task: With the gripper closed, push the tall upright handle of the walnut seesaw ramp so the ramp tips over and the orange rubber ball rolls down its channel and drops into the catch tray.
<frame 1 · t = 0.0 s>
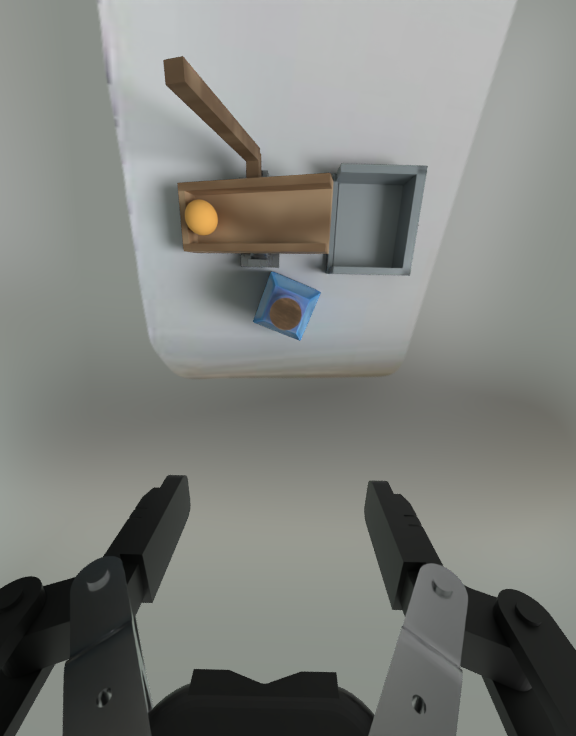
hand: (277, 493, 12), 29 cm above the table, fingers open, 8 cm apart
ball: (201, 218, 31), point 4 cm above the table, tilted 13°, touching lever
fulcrum: (260, 225, 35), on the table
catch tray: (365, 228, 35), on the table
perfume bottle: (286, 302, 38), on the table
lever: (229, 187, 25), point 10 cm above the table, hinge at 15.1°, touching ball
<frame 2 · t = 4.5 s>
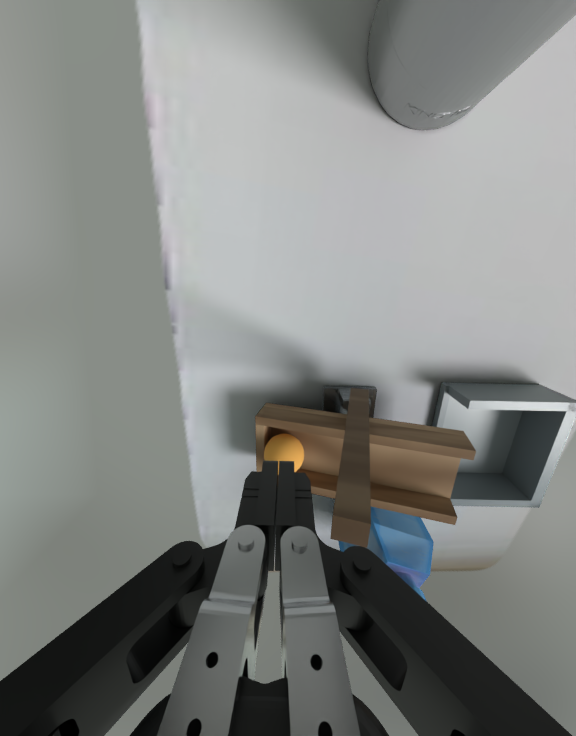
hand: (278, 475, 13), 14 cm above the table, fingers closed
ball: (284, 454, 24), point 4 cm above the table, tilted 12°, touching lever
fulcrum: (345, 430, 28), on the table
catch tray: (474, 433, 28), on the table
perfume bottle: (368, 501, 32), on the table
lever: (349, 490, 18), point 10 cm above the table, hinge at 15.0°, touching ball, gripper
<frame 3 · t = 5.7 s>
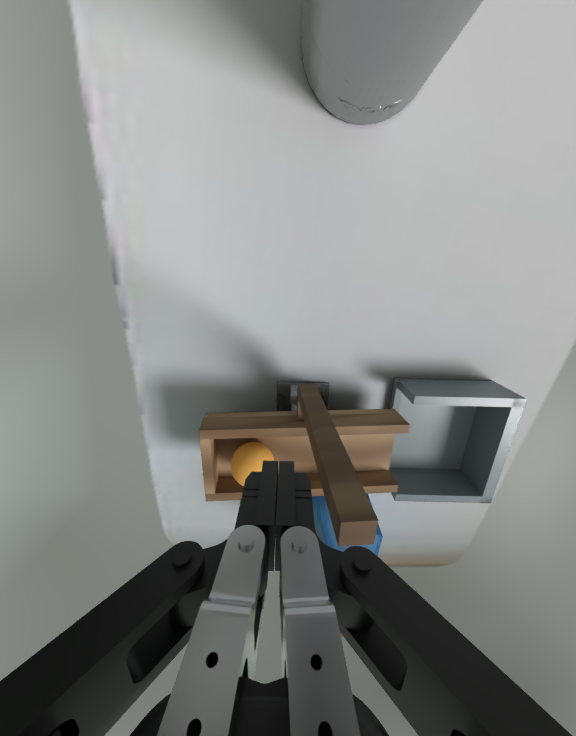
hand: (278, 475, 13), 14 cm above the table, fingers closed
ball: (252, 464, 23), point 6 cm above the table, tilted 54°, touching lever
fulcrum: (301, 426, 28), on the table
catch tray: (430, 429, 28), on the table
perfume bottle: (328, 497, 32), on the table
lever: (316, 487, 18), point 10 cm above the table, hinge at -5.5°, touching ball, gripper
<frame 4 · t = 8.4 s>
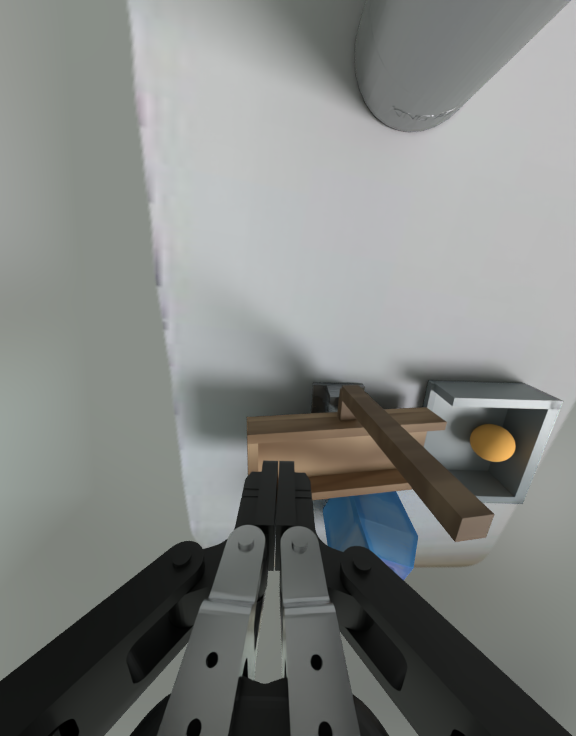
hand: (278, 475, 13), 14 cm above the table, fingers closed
ball: (491, 442, 27), point 2 cm above the table, tilted 16°, touching catch tray
fulcrum: (333, 427, 29), on the table
catch tray: (461, 431, 29), on the table
perfume bottle: (357, 497, 32), on the table
lever: (374, 486, 19), point 10 cm above the table, hinge at -9.8°
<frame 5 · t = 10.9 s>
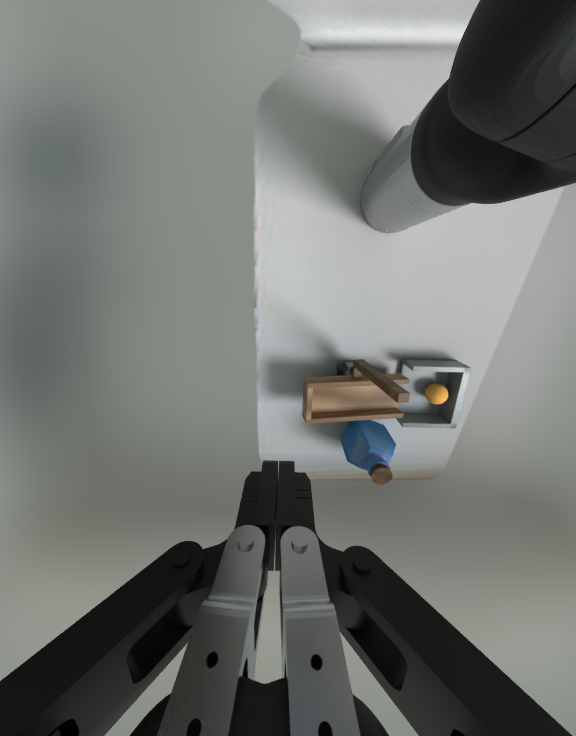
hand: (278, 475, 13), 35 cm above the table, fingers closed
ball: (436, 393, 48), point 2 cm above the table, tilted 25°, touching catch tray
fulcrum: (348, 387, 49), on the table
catch tray: (422, 389, 49), on the table
perfume bottle: (361, 432, 53), on the table
lever: (371, 404, 39), point 10 cm above the table, hinge at -9.8°
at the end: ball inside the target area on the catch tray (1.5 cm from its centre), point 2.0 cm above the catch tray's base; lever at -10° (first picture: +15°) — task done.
